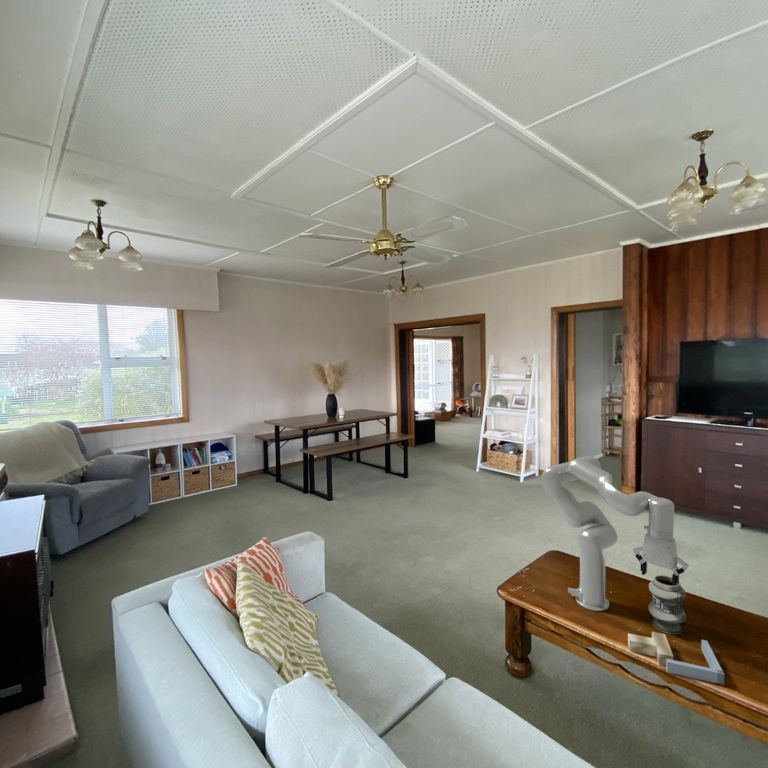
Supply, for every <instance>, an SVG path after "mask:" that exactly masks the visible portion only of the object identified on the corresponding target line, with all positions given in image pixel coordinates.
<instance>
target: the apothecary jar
mask: <svg viewBox="0 0 768 768" xmlns="http://www.w3.org/2000/svg"><path fill="white" fill-rule="evenodd" d="M648 589H649V592H650V593H651V601H650V602H649V603H648V606H647V609H648V611H649V613H650V614H651V615H652V616H653V618H652V619H651V625H652V626H653V627H654V628H655V629H657V630H659V631H660V632H662V633H664V634H665V633H666V634H669V635H679V634H681V633H682V632H683V628H682V626H681V625H680V624H683V623H685V622H686V620H687V613H686V612H685V610H684V608H683V601H684V600H686V597H687V593H686V590H685V589H684V588H683V587H682V583H681V582H680V581H679V583H677V584H676V585H675V586H673V585H672V576H669V575H666V574H665V575H664V574H658V575H657V574H656V575H655V576H654V577H653V579H652V580H651V581H650V582H649V583H648Z"/></svg>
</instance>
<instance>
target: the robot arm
mask: <svg viewBox="0 0 768 768" xmlns="http://www.w3.org/2000/svg"><path fill="white" fill-rule="evenodd" d="M575 481H580V482H582V483H583V484H585V485H586V486H588V487H590V488H592V489H593V490H596V491H597V492H598V493H599V495H600V496H601V498H602V499H603V501H604V502H605V503H606V504H607V505H608V506H609V507H611V508H612V509H614V510H616V511H618V512H619V513H621V514H623V515H625V516H628V517H638V516H639V515H642V514H647V513H648V525H644V526H643V529H644V530H646V531H647V532H646V533H645V535H644V538H643V544H642V546H639V547H634V548H633V549H632V551H633V553H634V555H635V558H636V559H637V560H638V562H639V564H640V572H641V575H642V576H644V575H646V574H647V572H648V563H649V564H652V565H655V566H658V567H661V568H664V569H667V570H671V572H672V573H673V574H672V576H671V577H672V585H673V586H675V585H676V584H677V583H679V582H680V575H682V574H683V573H685V571H686V570H687V569H688V568H689V566H690V565H689V563H687V562H685V561H684V560H683V559H681V558H680V557H679V556H678V549H677V544H676V543H677V542H676V539H675V538H674V522H675V521H674V520H675V504H674V502H673V501H672V500H670V499H668V498H665V497H659V496H656V495H654V494H652V493H650V492H647V491H641V490H640V491H636V492H634V493H630V494H626V493H625V492H622V491H620V490H618V488H616V487H614V485H613V484H612V483H613V476H612V474H611V473H610V472H608V471H606V470H604V469H602V465H601V462H600V461H599V460H598V459H597V458H596V457H594V456H591V455H586V456H582V457H577V458H574V459H572V460H571V461H567V462H562V463H559V464H554V465H550V466H548V467H547V468H545V469H544V470H543V472H542V474H541V484H542V488H543V489H544V491H545V492H546V494H547V495H548V497H550V498H551V500H552V501H553V502H554V503H555V505H556V507H557V509H558V510H559V511H560V513H561V514H562V516H563V517H564V518H565V520H566V522H567V523H568V524H569V526H571V527H572V528H574V529H575V528H576V529H577V528H578V529H579V528H583V527H585V526H588V527H587V528H585V529H583V530H582V531H580V532H579V534H578V536H577V545H578V551H579V586H578V588H572V587H567V593H569V594H571V596H573V597H575V602H577V604H578V605H579V606H581V607H583V608H584V609H587V610H590V611H595V612H604V611H606V610H608V609H609V608H610V601H609V600H608V599H607V598H606V561H605V557H604V555H603V554H604V553H603V552H604V550H606V549H608V548H611V547H613V546H614V545H616V543H617V542H618V535H617V531H616V529H615V528H614V527H613V525H612V524H611V522H610V521H609V520H608V518H607V517H606V516H605V514H604V512H602V510H601V509H600V508H599V507H598V505H597V504H595V503H594V502H591V501H587V500H585V501H579V500H578V499H577V498H576V497H575V495H574V493H572V492H571V491H570V490H569V489H568V488H566V486H564V485H563V484H566V483H567V484H568V483H571V482H575ZM640 552H641V553H642V554H641V553H640ZM678 564H679V565H680V566H681V567H680V568H679V567H678V566H677V565H678Z"/></svg>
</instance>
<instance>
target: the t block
mask: <svg viewBox="0 0 768 768" xmlns="http://www.w3.org/2000/svg"><path fill="white" fill-rule="evenodd" d="M627 646H628V649H629V650H628V651H629V652H631V653H635V654H641V655H646V656H650V657H655V658H656V660H657V664H658V666H662V667H666V659H670V660H674V655H673V652H672V649H671V647H670V644H669V642H668V638H667V636H666V634H665V633H661V632H656V631H651V637H650V636H649V637H647V636H644V635H638V634H634V633H629V632H628V633H627Z"/></svg>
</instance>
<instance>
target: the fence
mask: <svg viewBox="0 0 768 768" xmlns="http://www.w3.org/2000/svg"><path fill="white" fill-rule="evenodd" d="M700 644H701V646H700V649H701V652H702V654H703V656H704V658H705V660H706V663H707V664H708V667H706V666H701V665H698V664H692V663H688V662H683V661H679V660H676V659H675V660H674V659H673V660H670V659H666V666H665V670H666V672H667V673H669V674H673V675H678V676H680V677H681V676H682V677H686V678H691V679H695V680H699V681H704V682H709V683H713V684H717V685H723V686H725V673H724V670H723V668H722V667H721V665H720V663H719V661H718V659H717V658H716V656H715V653H714V651H713V650H712V647H711V646H710V644H709V641H708V640H705V639H701V643H700Z"/></svg>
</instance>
